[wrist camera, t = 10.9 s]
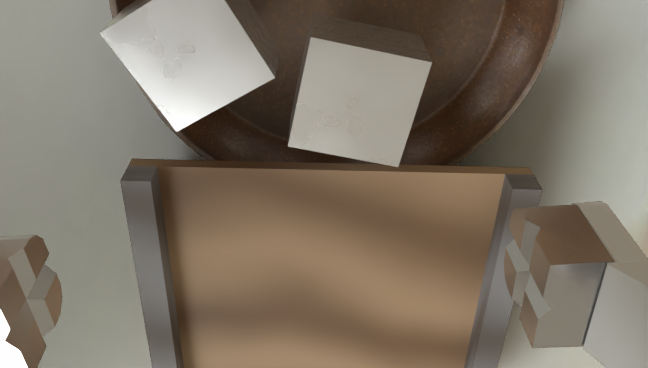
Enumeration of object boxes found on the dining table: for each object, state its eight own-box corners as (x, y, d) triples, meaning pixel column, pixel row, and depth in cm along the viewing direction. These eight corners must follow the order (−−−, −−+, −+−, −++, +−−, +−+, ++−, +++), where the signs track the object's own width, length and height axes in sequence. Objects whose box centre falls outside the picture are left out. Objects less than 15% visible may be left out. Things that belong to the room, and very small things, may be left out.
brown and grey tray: (454, 389, 39) (471, 467, 35) (186, 385, 39) (168, 463, 34) (507, 129, 29) (542, 189, 25) (152, 121, 29) (120, 181, 25)
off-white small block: (420, 35, 24) (432, 62, 22) (390, 132, 27) (398, 167, 24) (311, 12, 24) (310, 37, 21) (291, 113, 26) (287, 146, 24)
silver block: (279, 49, 25) (275, 77, 22) (190, 99, 26) (176, 131, 23) (217, -51, 23) (203, -33, 20) (123, 8, 24) (99, 33, 21)
